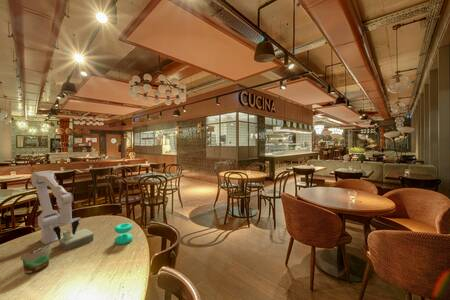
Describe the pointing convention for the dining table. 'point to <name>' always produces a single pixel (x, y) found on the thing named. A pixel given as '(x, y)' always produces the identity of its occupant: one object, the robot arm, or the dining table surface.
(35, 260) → the food container
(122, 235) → the donuts
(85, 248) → the dining table surface
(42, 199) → the robot arm
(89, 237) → the tub
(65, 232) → the lid
